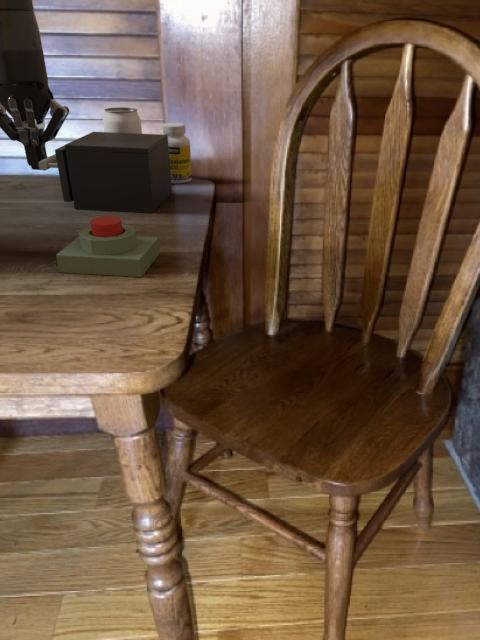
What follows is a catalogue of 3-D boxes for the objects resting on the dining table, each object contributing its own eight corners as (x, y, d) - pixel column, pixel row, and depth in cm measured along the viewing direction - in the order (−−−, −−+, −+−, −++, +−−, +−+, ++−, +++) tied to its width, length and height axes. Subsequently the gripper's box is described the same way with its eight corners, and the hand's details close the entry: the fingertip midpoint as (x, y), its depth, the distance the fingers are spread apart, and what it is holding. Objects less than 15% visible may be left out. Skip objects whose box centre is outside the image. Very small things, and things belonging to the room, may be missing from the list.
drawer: (38, 200, 90) (27, 148, 86) (65, 184, 99) (56, 136, 95) (135, 205, 89) (129, 153, 85) (153, 188, 98) (149, 140, 94)
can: (121, 185, 102) (112, 113, 96) (104, 178, 106) (95, 108, 100) (153, 180, 106) (146, 110, 100) (135, 174, 110) (128, 106, 104)
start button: (87, 238, 68) (85, 224, 67) (98, 229, 71) (96, 215, 70) (117, 240, 67) (115, 225, 66) (127, 230, 70) (125, 216, 69)
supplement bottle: (166, 185, 103) (162, 127, 98) (159, 178, 108) (155, 122, 102) (195, 183, 105) (192, 126, 100) (187, 176, 110) (184, 121, 104)
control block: (59, 272, 68) (53, 240, 66) (84, 249, 75) (79, 219, 72) (141, 277, 67) (137, 244, 65) (159, 253, 74) (157, 223, 72)
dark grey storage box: (75, 209, 90) (64, 144, 85) (101, 190, 99) (92, 131, 94) (153, 213, 89) (147, 148, 84) (172, 193, 99) (167, 134, 94)
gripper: (69, 46, 86) (87, 165, 96) (-16, 44, 87) (10, 162, 96) (48, 49, 80) (69, 176, 89) (-43, 46, 81) (-13, 172, 90)
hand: (38, 168), depth 93 cm, fingers closed
